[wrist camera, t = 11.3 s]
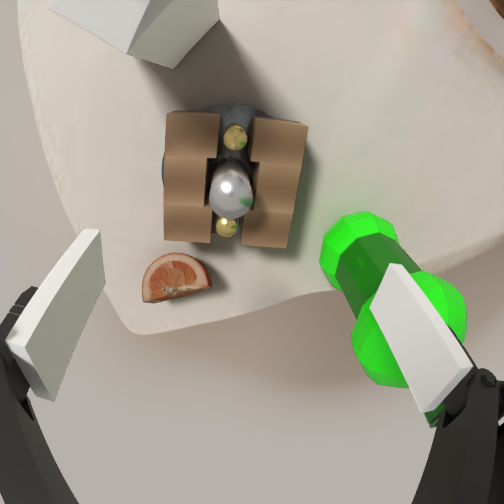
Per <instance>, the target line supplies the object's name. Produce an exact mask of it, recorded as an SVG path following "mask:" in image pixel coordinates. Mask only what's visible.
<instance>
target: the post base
mask: <svg viewBox="0 0 504 504" xmlns="http://www.w3.org/2000/svg"><path fill="white" fill-rule="evenodd" d="M200 112H214V113H221V121H220V130H219V141H218V151H217V156H216V158H209V162H208V175H207V190H206V192H207V193H210V195H209V203H210V206H211V208H212V210H213V214H212V228H211V233H215V234H219V235H220V236H222V237H231V236H233V235H238V234H240V228H239V227H240V218H241V216H243V215H245V214H246V213H247V212H248V211H249V209H250V208H251V206H252V202H253V195H252V182H253V174H254V166H255V162H254V161H251V160H250V156H249V153H248V149H249V141H250V132H251V124H252V116H258V117H267V118H272V117H270V116H268V115H267V114H265V113H264V112H262V111H260V110H257V109H255V108H252V107H249V106H244V105H238V104H225V105H218V106H213V107H210V108H207V109H205V110H202V111H200ZM164 158H165V152H164V157H163V161H162V180H163V185H164Z"/></svg>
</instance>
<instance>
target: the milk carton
mask: <svg viewBox="0 0 504 504" xmlns="http://www.w3.org/2000/svg"><path fill="white" fill-rule="evenodd" d="M48 9H49V10H50V11H52V12H54V13H56V14H58V15H59V16H61V17H63V18H65V19H67V20H69V21H70V22H72V23H74V24H76V25H77V26H79V27H81V28H83V29H84V30H86V31H88V32H89V33H91V34H93V35H94V36H96V37H98V38H99V39H101V40H103V41H104V42H106V43H108V44H109V45H111V46H112V47H114V48H116V49H117V50H119V51H121V52H122V53H124V54H127V55H131V56H134V57H137V58H140V59H144V60H147V61H150V62H153V63H156V64H159V65H162V66H165V67H168V68H170V69H174V68H175V67H176V66H177V65H178V63H179V62H180V61H181V60H182V59H183V58H184V56H185V55H186V54H187V53H188V52H189V51H190V50H191V49H192V47H193V46H194V45H195V44H196V43H197V42H198V41H199V40H200V39H201V38H202V37H203V36H204V35H205V34H206V32H207V31H208V30H209V29H210V28H211V27H212V26H213V25H214V24H215V23H216V22H217V21H218V20H219V19H220V17H219V9H218V1H217V0H49V2H48Z"/></svg>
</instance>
